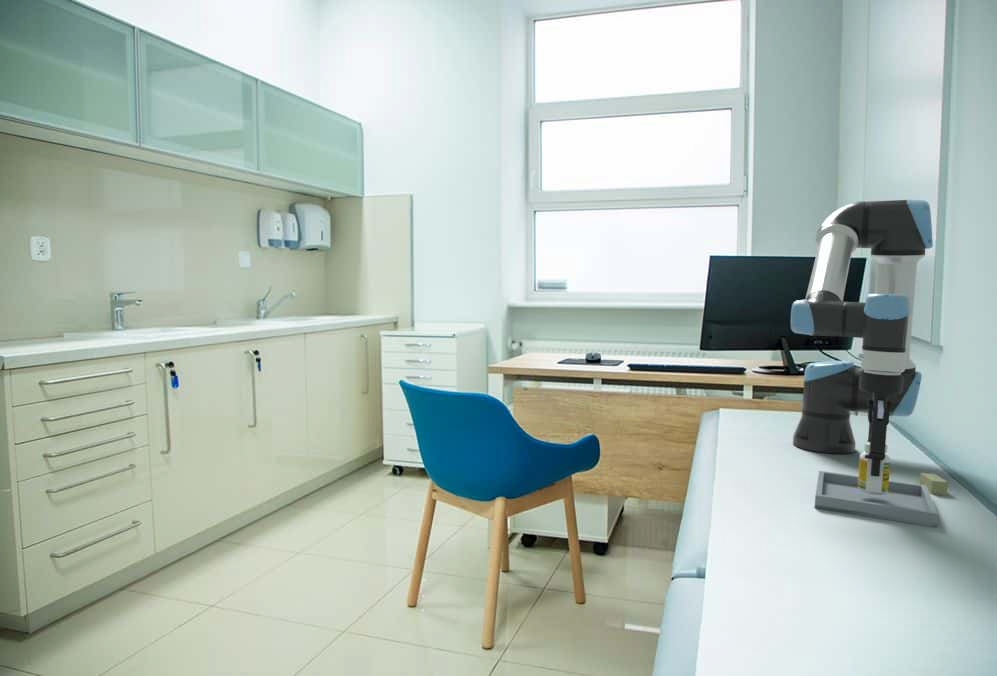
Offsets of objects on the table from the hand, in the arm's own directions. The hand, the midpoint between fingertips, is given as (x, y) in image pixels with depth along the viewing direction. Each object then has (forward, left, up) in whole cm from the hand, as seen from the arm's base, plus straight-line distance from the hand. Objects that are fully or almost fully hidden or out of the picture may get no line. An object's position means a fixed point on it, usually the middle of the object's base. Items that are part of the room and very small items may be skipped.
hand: (872, 487), depth 134 cm
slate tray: (0, 0, -3) cm, 3 cm away
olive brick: (-17, +12, -3) cm, 21 cm away
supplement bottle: (0, 0, -1) cm, 1 cm away
